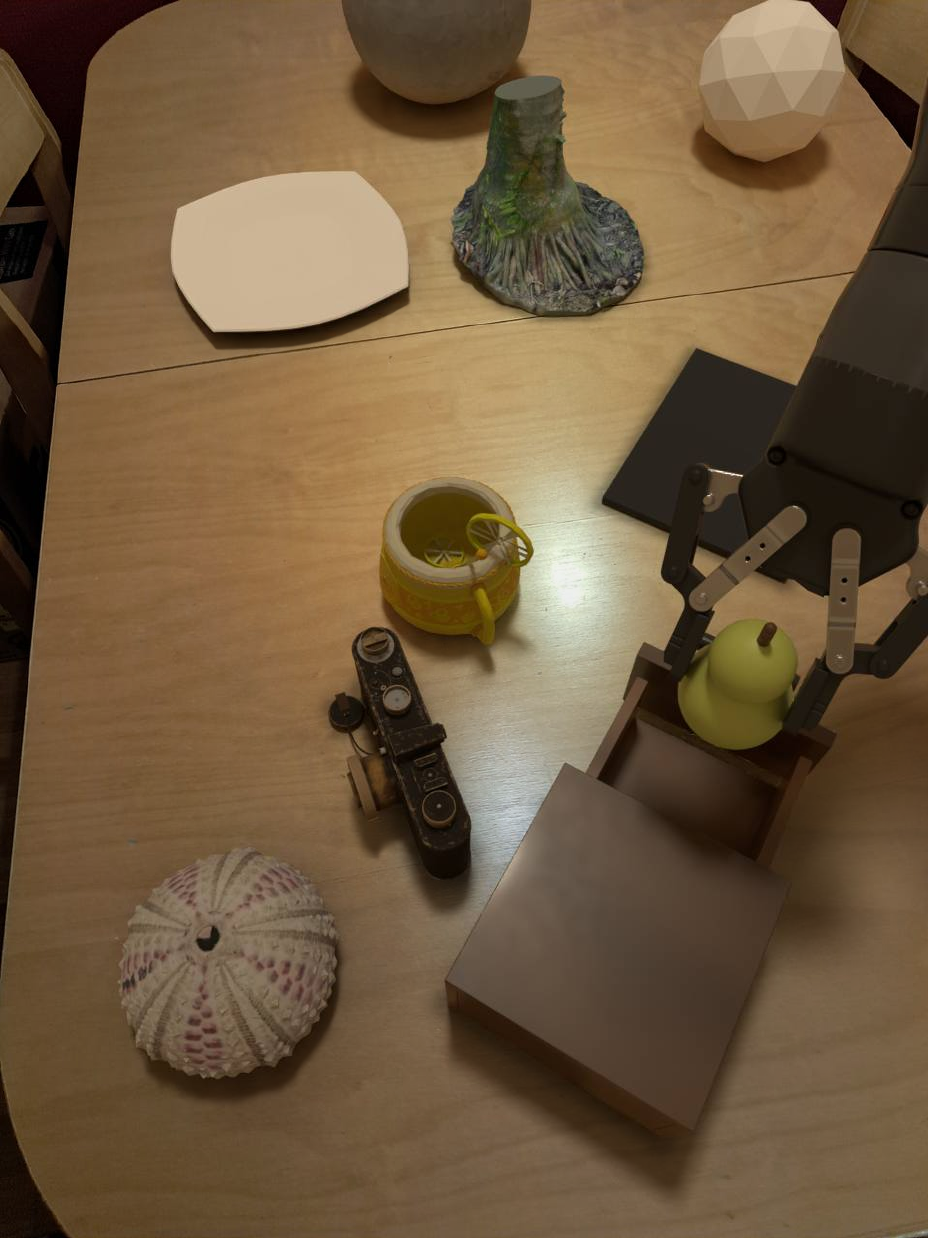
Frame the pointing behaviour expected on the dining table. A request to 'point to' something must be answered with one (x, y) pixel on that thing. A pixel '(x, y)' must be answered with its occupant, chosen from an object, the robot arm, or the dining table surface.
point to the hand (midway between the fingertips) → (732, 701)
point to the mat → (702, 444)
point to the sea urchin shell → (228, 964)
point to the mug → (451, 557)
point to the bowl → (438, 44)
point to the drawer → (703, 766)
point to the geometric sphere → (771, 79)
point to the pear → (740, 685)
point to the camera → (404, 755)
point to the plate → (288, 252)
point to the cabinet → (619, 951)
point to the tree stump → (542, 215)
